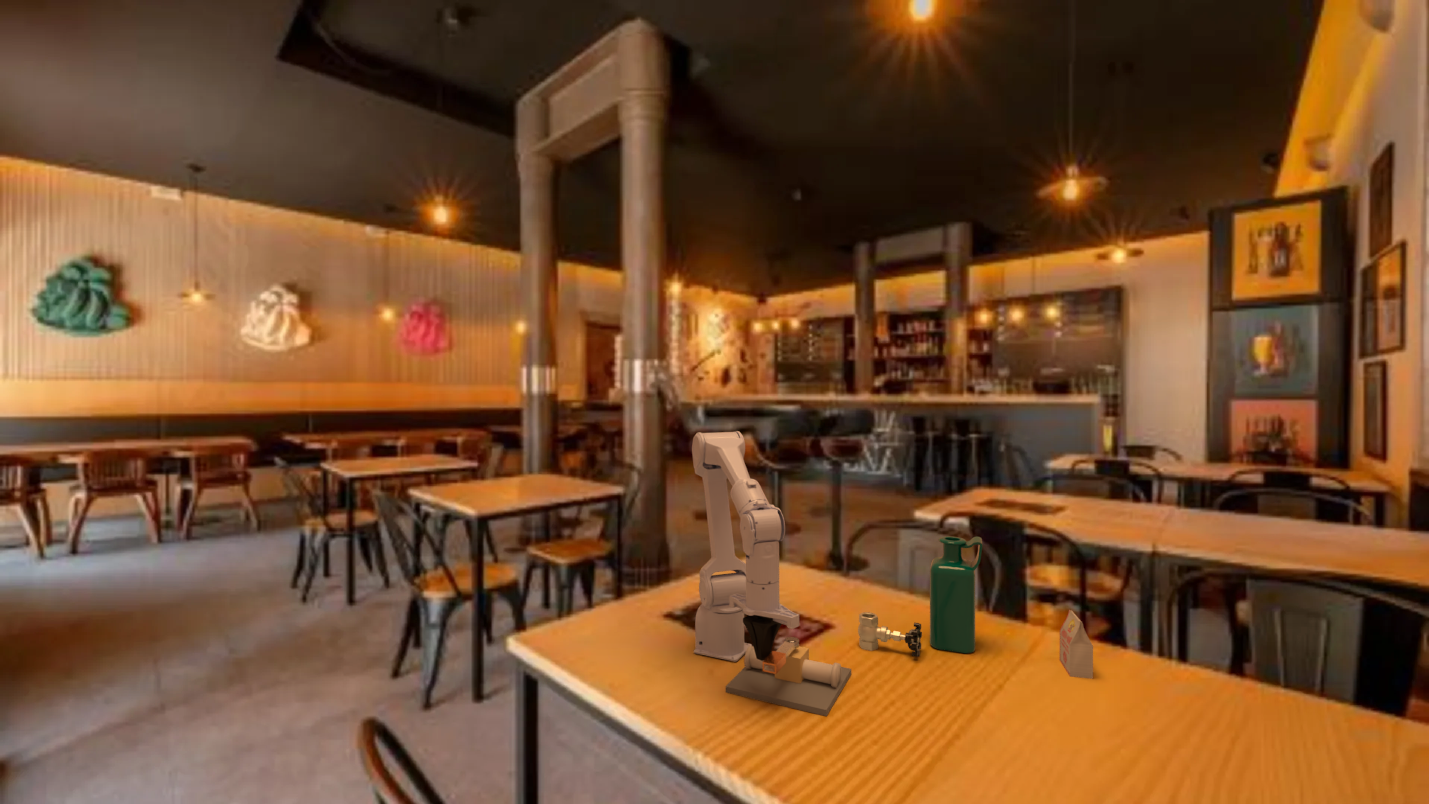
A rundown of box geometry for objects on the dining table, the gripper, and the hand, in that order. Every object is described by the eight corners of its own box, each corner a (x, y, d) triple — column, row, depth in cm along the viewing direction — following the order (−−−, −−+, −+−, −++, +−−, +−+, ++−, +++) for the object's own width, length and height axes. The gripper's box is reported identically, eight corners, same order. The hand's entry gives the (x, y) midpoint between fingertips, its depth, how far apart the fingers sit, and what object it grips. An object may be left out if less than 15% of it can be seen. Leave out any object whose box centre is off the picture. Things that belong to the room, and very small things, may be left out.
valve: (854, 651, 122) (916, 663, 117) (854, 619, 122) (916, 629, 117) (862, 639, 128) (922, 650, 123) (862, 608, 128) (922, 617, 123)
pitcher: (929, 649, 123) (929, 540, 122) (931, 633, 131) (931, 531, 130) (982, 656, 119) (982, 544, 119) (981, 640, 127) (981, 534, 127)
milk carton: (1081, 662, 117) (1081, 610, 116) (1092, 678, 110) (1093, 623, 110) (1059, 660, 118) (1059, 608, 117) (1070, 676, 111) (1070, 621, 111)
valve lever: (787, 644, 112) (787, 634, 112) (801, 647, 111) (801, 636, 111) (762, 673, 101) (762, 661, 101) (776, 676, 100) (776, 664, 100)
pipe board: (725, 692, 106) (725, 661, 106) (760, 655, 121) (760, 628, 121) (826, 716, 98) (826, 683, 98) (851, 674, 113) (851, 645, 112)
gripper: (716, 575, 107) (717, 651, 108) (779, 595, 97) (779, 680, 97) (744, 566, 112) (745, 640, 112) (807, 585, 102) (807, 666, 102)
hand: (763, 658), depth 105 cm, fingers closed
